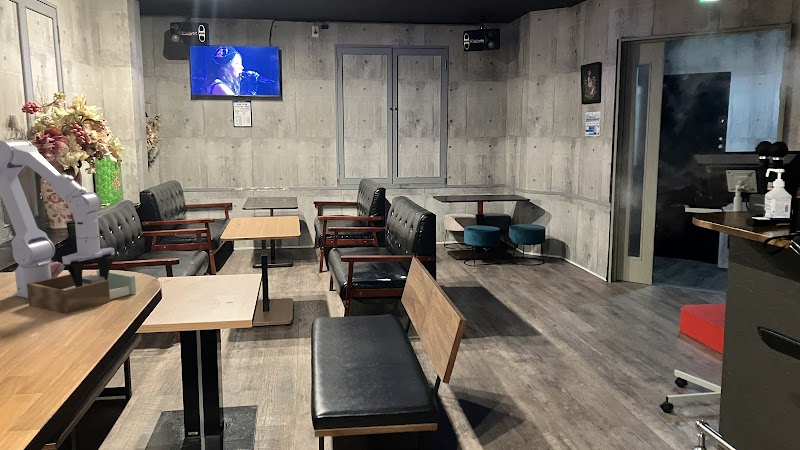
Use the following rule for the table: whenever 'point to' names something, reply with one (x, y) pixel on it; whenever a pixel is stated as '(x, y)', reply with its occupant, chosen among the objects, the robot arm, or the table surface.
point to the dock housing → (66, 294)
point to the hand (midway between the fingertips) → (91, 284)
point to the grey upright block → (92, 279)
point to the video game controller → (56, 268)
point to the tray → (118, 284)
